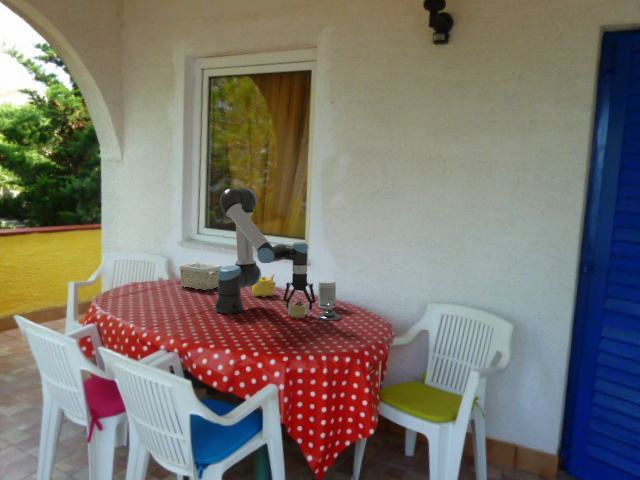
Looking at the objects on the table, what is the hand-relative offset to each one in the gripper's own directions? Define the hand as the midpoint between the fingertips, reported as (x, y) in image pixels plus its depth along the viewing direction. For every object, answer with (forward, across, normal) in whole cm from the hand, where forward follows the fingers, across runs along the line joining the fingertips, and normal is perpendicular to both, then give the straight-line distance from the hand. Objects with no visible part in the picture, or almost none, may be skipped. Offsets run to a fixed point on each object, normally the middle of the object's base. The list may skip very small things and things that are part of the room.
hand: (299, 315), depth 255 cm
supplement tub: (0, +12, +20) cm, 23 cm away
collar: (0, 0, 0) cm, 0 cm away
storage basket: (+1, -74, +52) cm, 90 cm away
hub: (0, +16, 0) cm, 16 cm away
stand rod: (0, 0, 0) cm, 0 cm away
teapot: (+1, -28, +40) cm, 49 cm away
